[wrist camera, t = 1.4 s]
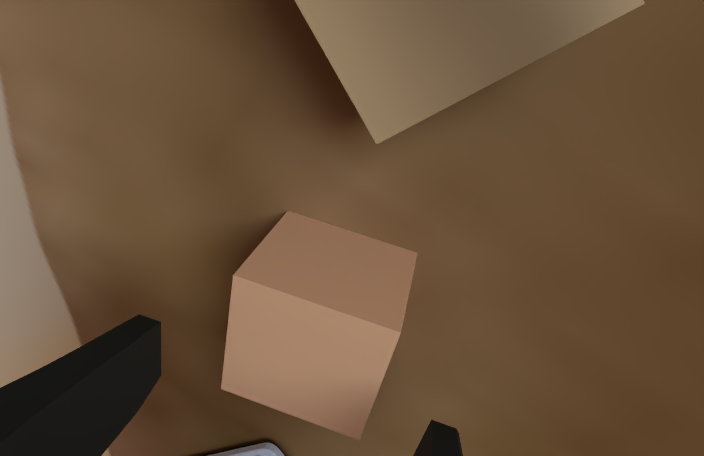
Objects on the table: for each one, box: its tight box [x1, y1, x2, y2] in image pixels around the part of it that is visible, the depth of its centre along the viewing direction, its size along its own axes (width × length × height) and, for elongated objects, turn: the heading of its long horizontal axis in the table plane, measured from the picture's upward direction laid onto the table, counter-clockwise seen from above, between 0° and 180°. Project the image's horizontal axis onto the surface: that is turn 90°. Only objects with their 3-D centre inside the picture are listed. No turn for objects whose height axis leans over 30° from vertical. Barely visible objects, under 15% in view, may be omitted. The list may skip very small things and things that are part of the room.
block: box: [221, 211, 417, 440], centre depth 14 cm, size 4×4×4 cm
